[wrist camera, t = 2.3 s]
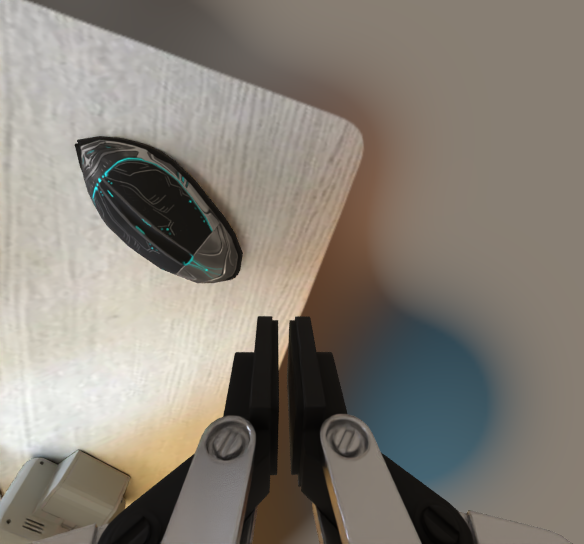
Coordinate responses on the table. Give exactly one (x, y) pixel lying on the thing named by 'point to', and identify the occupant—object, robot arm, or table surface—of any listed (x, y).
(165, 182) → the computer mouse
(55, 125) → the table surface
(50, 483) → the digital clock
